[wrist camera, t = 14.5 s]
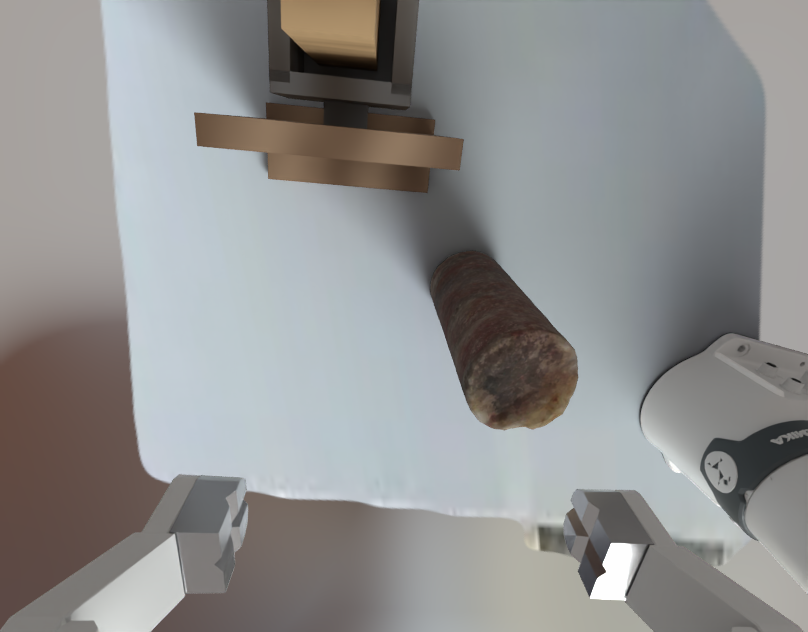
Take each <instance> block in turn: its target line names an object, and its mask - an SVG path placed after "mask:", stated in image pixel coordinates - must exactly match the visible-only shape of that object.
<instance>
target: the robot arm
mask: <svg viewBox="0 0 808 632" xmlns="http://www.w3.org/2000/svg"><path fill="white" fill-rule="evenodd" d="M641 427H642V431H643V433H644V435H645V437H646V438H647V440H648V441H649V442H650V443H651V444H652V445H653V446H655V447H656V448H657V449H658V450H660V451H661V452H662V453H663V457H664V459H665V462H666V464H667V465H668V466H669V467H670V468H671V469H672V470H673V471H674V472H677V473H683V474H684V475H685V476H686V477H687V478H688V479H689V480H690V481H691V482H692V483H694V484H695V485H696V486H697V487H698V488H699V489H700V490H701V491H702V492H703V493H704V494H705V495H706V496H707V497H708V498H710V499H711V500H712V501H713V502H714V503H715V504H716V505H718V506H719V507H722V508H723V510H724V511H725V512H726V513H727V514H728V515H729V516H730V517H729V518H730V519H731V520H732V521H733V522H734V523H735V524H736V525H737V526H738V527H739V528H741V529H742V530H743V531H744V532H745V533H746V534H747V535H748V536H750V537H751V538H753V539H754V540H757V541H759V542H761V544H763V546H764V547H765V548H766V549H767V550H768V551H769V552H770V554H771V555H772V556H773V557H774V558H775V559H776V560H777V561H778V562H779V563H780V565H781V566H782V567H783V568H784V569H785V570H786V571H787V572H788V573H789V574H790V576H791V577H792V578H793V579H794V580H795V581H796V582H797V583H798V584H799V585H800V586H801V587H802V589H803V590H804V591H805V592H806V593H807V594H808V354H806V353H802V352H799V351H795V350H791V349H787V348H784V347H781V346H777V345H773V344H770V343H766V342H763V341H759V340H756V339H752V338H748V337H745V336H741V335H738V334H733V333H729V334H726V335H724V336H722V337H720V338H719V339H718V340H717V341H715V342H714V343H713V344H712V345H711V346H709V347H708V348H707V349H706V350H705V351H703V352H702V353H700V354H698V355H696V356H694V357H691V358H689V359H687V360H685V361H683V362H681V363H679V364H678V365H676V366H675V367H673V368H672V369H670V370H669V371H668V372H666V373H665V374H664V375H663V376H662V377H661V378H660V379H659V380H658V381H657V382H656V383H655V384H654V386H653V387H652V388H651V390H650V391H649V393H648V395H647V397H646V399H645V401H644V403H643V406H642V410H641ZM246 490H247V489H246V480H245V479H244V478H239V477H222V476H205V475H201V476H197V475H181V474H179V475H178V476H177V477H175V478H174V479H173V481H172V482H171V484H170V486H169V488H168V489H167V491H166V492H165V494H164V496H163V497H162V499H161V501H160V502H159V504H158V506H157V507H156V509H155V511H154V512H153V514H152V516H151V518H150V519H149V521H148V522H147V524H146V526H145V527H144V529H143V531H142V532H141V533H133V534H132V535H130V536H129V537H127V538H126V539H124V540H123V541H121V542H120V543H119V544H117V545H116V546H114V547H113V548H111V549H110V550H108V551H107V552H105V553H104V554H102V555H101V556H99V557H98V558H97V559H95V560H94V561H92V562H91V563H89V564H88V565H86V566H85V567H83V568H82V569H80V570H79V571H77V572H76V573H75V574H73V575H71V576H70V577H69V578H67V579H66V580H64V581H63V582H61V583H60V584H58V585H57V586H55V587H54V588H52V589H51V590H49V591H48V592H47V593H45V594H44V595H42V596H41V597H39V598H38V599H36V600H35V601H33V602H32V603H30V604H29V605H27V606H26V607H25V608H23V609H22V610H20V611H19V612H17V613H16V614H14V615H13V616H11V617H10V618H9V619H8V621H7V622H6V623H5V625H4V626H3V627H2V629H1V630H0V632H151V631H152V629H154V627H155V626H156V625H157V624H158V623H159V622H160V621H161V620H162V619H163V618H164V617H165V616H166V615H167V614H168V613H169V612H170V611H171V610H172V609H173V608H174V607H175V606H176V605H177V604H178V602H180V601H181V600H182V599H183V598H184V597H185V594H188V593H225V592H226V590H227V587H228V583H229V580H230V578H231V575H232V572H233V569H234V566H235V558H234V552H236V551H237V550H238V549H239V548H240V547H241V546H242V542H243V539H244V536H245V531H246V527H247V521H248V504H247V503H246V502H245V501H244V500H243V498H244V496H245V493H246ZM571 502H572V504H573V506H574V508H573V509H572V510H570V511H569V512H568V513H567V514H566V517H565V521H564V538H565V542H566V545H567V548H568V550H569V552H570V554H571V555H572V556H573V557H574V558H575V559H576V560H578V561H579V562H580V565H579V569H578V573H579V575H580V577H581V580H582V582H583V584H584V586H585V588H586V591H587V593H588V595H589V597H590V598H594V599H616V600H625V603H627V605H628V606H629V607H630V608H631V609H632V610H633V611H634V612H635V613H636V614H637V615H638V616H639V617H640V618H641V619H642V620H643V621H644V622H645V623H646V624H647V625H648V626H649V627H650V628H651V629H652V630H653V631H654V632H803V631H802V629H801V628H800V627H799V626H798V625H796V624H795V623H794V622H792V621H791V620H789V619H788V618H786V617H785V616H784V615H782V614H781V613H779V612H778V611H776V610H775V609H773V608H772V607H770V606H769V605H768V604H766V603H765V602H763V601H762V600H760V599H759V598H757V597H756V596H755V595H753V594H752V593H750V592H749V591H747V590H746V589H744V588H743V587H742V586H740V585H739V584H737V583H736V582H734V581H733V580H731V579H730V578H729V577H727V576H726V575H724V574H723V573H721V572H720V571H718V570H717V569H716V568H714V567H713V566H711V565H710V564H708V563H707V562H705V561H704V560H703V559H701V558H700V557H698V556H697V555H695V554H694V553H692V552H691V551H690V550H688V549H687V548H685V547H684V546H677V545H676V543H675V542H674V541H673V539H672V538H671V536H670V535H669V534H668V532H667V531H666V529H665V528H664V527H663V525H662V524H661V522H660V521H659V520H658V518H657V517H656V515H655V514H654V513H653V511H652V510H651V508H650V507H649V506H648V504H647V503H646V501H645V500H644V498H643V497H642V496H641V494H640V493H638V492H637V491H635V490H595V489H577V490H576V491H575V492H574V493H573V495H572V498H571Z"/></svg>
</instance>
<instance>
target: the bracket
mask: <svg viewBox="0 0 808 632" xmlns="http://www.w3.org/2000/svg"><path fill="white" fill-rule="evenodd" d="M267 8H268V45H269V82H270V92H271V93H274V94H277V95H280V96H283V97H287V98H291V99H301V100H310V101H320V102H324V108H315V107H305V106H295V105H285V104H275V103H266V118H267V119H265V118H253V117H242V116H230V115H218V114H206V113H194V115H195V126H196V137H197V146H203V147H214V148H225V149H235V150H246V151H257V152H267V153H268V179H276V180H288V181H299V182H310V183H321V184H333V185H344V186H355V187H366V188H378V189H389V190H400V191H411V192H423V193H427V191H428V182H429V173H430V168H439V169H449V170H460V163H461V156H462V148H463V141H464V139H458V138H451V137H443V136H436V135H434V127H435V120H432V119H422V118H412V117H403V116H393V115H383V114H373V113H368V107H378V108H388V109H397V110H406V109H408V108H409V107H410V99H411V88H412V76H413V65H414V53H415V42H416V30H417V19H418V8H419V0H381V8H380V27H379V47H378V66H377V71H369V70H359V69H350V68H340V67H330V66H320V65H318V64H317V63H316V62H315V61H314V60H313V59H312V58H311V57H310V56H309V55H308V54H307V53H306V52H305V51H304V50H303V49H302V48H301V47H300V46H299V45H298V44H297V43H296V42H295V41H294V40H293V39H292V38H291V37H290V36H289V35H288V34H287V33H285V32H284V31H283V30H282V29H281V0H267Z"/></svg>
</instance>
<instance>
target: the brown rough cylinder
mask: <svg viewBox="0 0 808 632" xmlns="http://www.w3.org/2000/svg"><path fill="white" fill-rule="evenodd" d="M430 292H431V297H432V300H433V303H434V306H435V309H436V312H437V315H438V318H439V320H440V323H441V326H442V329H443V332H444V335H445V338H446V341H447V344H448V347H449V350H450V353H451V356H452V359H453V362H454V365H455V368H456V372H457V375H458V378H459V381H460V384H461V387H462V390H463V393H464V395H465V398H466V401H467V403H468V405H469V408H470V410H471V411H472V413H473V414H474V415H475V417H476V418H477V419H478V420H479V421H480V422H482V423H483V424H485V425H487V426H489V427H491V428H493V429H501V430H507V429H510V428H517V427H527V428H530V429H535V428H539V427H542V426H545V425H547V424H548V423H550V422H551V421H553V420H554V419H555V418H557V417H558V416H560V415H562V414H563V412H564V410H565V409H566V407H567V405H568V403H569V400H570V398H571V397H572V395H573V393H574V391H575V388H576V384H577V380H578V366H577V356H576V353H575V349H574V348H573V347H572V346H571V345H570V343H569V342H568V341H567V340H566V339H565V338H564V337H563V336H562V335H561V334H560V333H559V332H558V331H557V330H556V329H555V328H554V327H553V325H552V324H551V323H550V322H549V320H548V319H547V318H546V317H545V316H544V315H543V314H542V312H541V311H540V310H539V309H538V308H537V307H536V306H535V305H534V304H533V302H532V301H531V300H530V299H529V298H528V297H527V296H526V295H525V294H524V292H523V291H522V290H521V289H520V288H519V287H518V286H517V285H516V283H515V282H514V281H513V280H512V279H511V278H510V276H509V275H508V274H507V273H506V272H505V271H504V270H503V269H502V268H501V266H500V265H499V264H498V263H497V262H496V261H495V260H494V259H492V258H491V257H489V256H488V255H486V254H483V253H481V252H477V251H466V252H460V253H458V254H455V255H452V256H450V257H449V258H447V259H446V260H445V261H444V262H443V263H441V264H440V265H439V266H438V268H437V269H436V270H435V272H434V274H433V277H432V280H431V287H430Z"/></svg>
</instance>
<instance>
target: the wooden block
mask: <svg viewBox="0 0 808 632" xmlns="http://www.w3.org/2000/svg"><path fill="white" fill-rule="evenodd" d="M380 8H381V0H281V29H282V30H283V31H284V32H285V33H287V34H288V35H289V36H290V37H291V38H292V39H293V40H294V41H295V42H296V43H297V44H298V45H299V46H300V47H301V48H302V49H303V50H304V51H305V52H306V53H307V54H308V55H309V56H310V57H311V58H312V59H313V60H314V61H315V62H316V63H317V64H318V65H320V66H330V67H340V68H350V69H359V70H369V71H377V66H378V47H379V27H380Z"/></svg>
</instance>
